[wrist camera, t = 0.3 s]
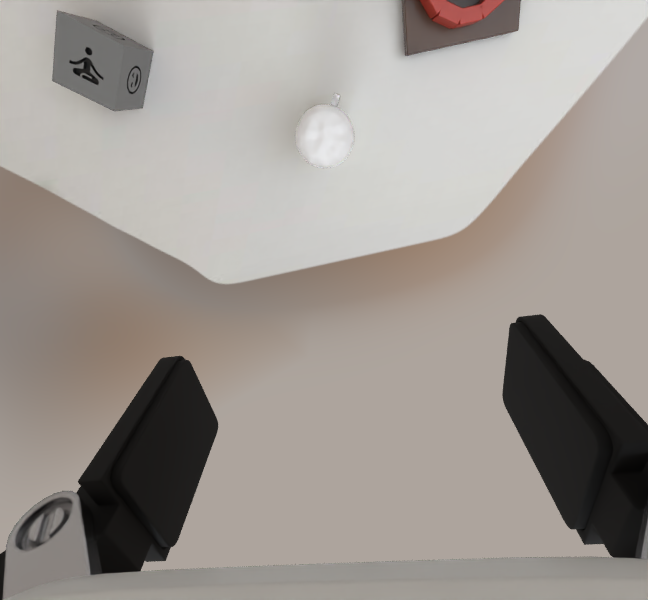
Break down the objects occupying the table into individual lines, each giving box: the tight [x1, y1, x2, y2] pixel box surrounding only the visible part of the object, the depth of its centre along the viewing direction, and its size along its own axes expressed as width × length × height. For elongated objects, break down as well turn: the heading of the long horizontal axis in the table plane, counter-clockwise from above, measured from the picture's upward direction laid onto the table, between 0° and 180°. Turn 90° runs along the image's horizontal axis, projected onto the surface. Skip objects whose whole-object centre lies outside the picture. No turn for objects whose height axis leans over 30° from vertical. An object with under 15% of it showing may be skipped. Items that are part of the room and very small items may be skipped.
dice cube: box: [52, 10, 153, 111], centre depth 30 cm, size 5×5×5 cm
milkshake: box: [295, 93, 354, 168], centre depth 30 cm, size 4×5×10 cm
